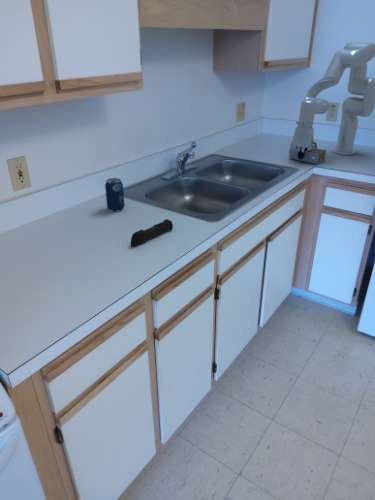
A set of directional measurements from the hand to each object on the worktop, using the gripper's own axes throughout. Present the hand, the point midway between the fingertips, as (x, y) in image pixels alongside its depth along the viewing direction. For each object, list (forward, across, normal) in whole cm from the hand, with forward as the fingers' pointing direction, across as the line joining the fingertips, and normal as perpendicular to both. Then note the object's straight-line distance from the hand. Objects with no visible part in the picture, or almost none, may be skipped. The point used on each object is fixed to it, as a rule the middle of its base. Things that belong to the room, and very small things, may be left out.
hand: (300, 158), depth 215 cm
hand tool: (+3, -3, -119) cm, 119 cm away
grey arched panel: (+3, -7, +22) cm, 23 cm away
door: (+2, 0, +2) cm, 3 cm away
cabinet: (+2, +1, +8) cm, 9 cm away
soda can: (+3, -32, -109) cm, 113 cm away
